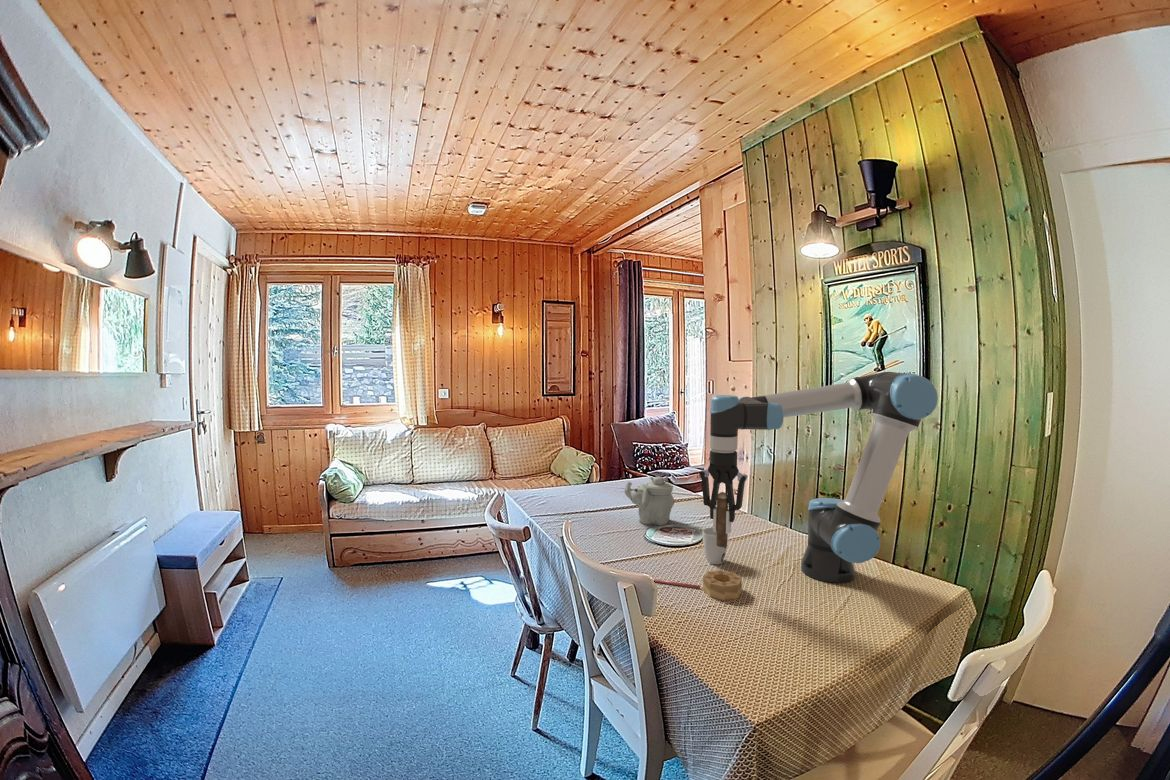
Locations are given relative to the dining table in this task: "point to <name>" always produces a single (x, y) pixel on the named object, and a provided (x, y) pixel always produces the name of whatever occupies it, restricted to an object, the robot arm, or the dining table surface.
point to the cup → (712, 547)
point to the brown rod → (721, 519)
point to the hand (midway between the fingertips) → (722, 531)
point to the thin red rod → (677, 583)
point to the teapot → (652, 500)
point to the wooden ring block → (722, 585)
